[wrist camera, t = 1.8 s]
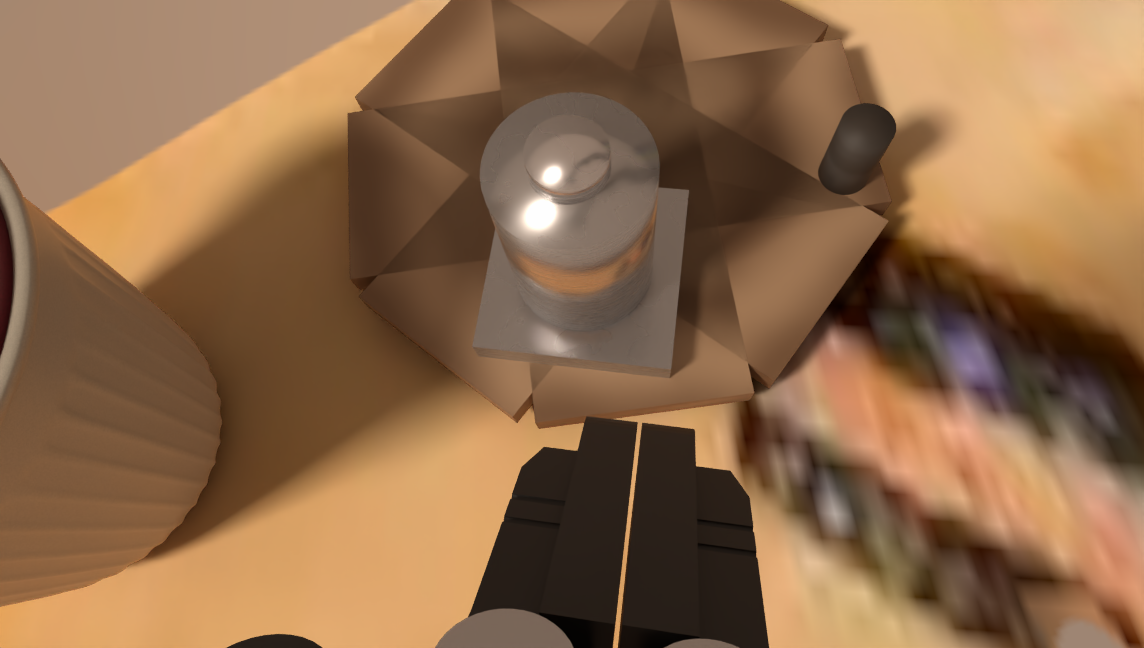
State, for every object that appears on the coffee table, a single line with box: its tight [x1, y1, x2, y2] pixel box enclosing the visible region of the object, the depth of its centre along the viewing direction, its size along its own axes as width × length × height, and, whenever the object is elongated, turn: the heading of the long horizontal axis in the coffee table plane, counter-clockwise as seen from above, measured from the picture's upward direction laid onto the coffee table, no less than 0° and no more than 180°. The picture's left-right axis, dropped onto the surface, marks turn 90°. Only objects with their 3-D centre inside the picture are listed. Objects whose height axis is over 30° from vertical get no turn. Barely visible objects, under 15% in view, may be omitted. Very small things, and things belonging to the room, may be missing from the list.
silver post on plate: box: [472, 92, 689, 378], centre depth 29 cm, size 9×9×11 cm
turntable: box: [348, 0, 896, 429], centre depth 36 cm, size 27×27×5 cm
